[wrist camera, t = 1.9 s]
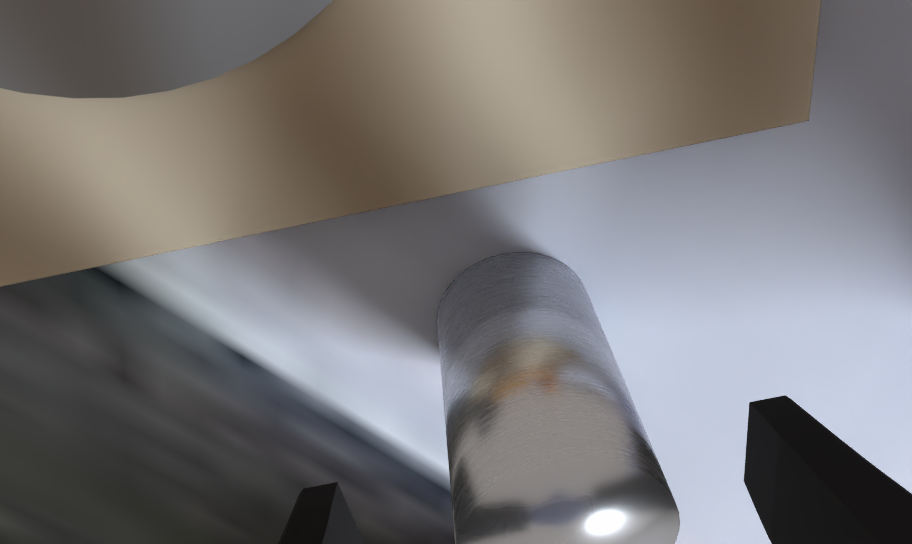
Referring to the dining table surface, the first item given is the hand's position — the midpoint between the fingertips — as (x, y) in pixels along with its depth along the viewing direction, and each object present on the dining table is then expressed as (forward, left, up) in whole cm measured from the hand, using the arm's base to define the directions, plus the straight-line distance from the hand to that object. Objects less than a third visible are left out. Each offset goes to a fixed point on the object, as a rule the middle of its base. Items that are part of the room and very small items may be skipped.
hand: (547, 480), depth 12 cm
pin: (0, 0, -5) cm, 5 cm away
